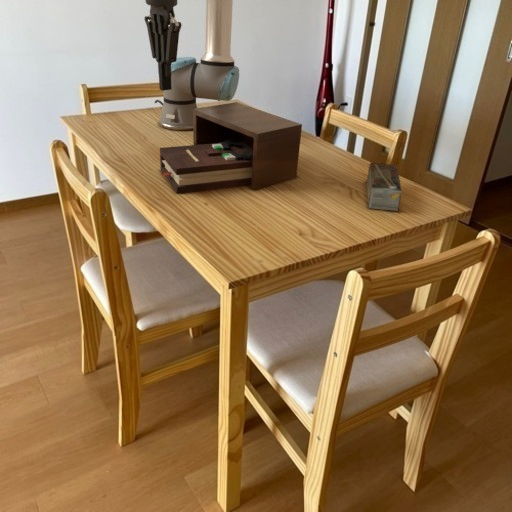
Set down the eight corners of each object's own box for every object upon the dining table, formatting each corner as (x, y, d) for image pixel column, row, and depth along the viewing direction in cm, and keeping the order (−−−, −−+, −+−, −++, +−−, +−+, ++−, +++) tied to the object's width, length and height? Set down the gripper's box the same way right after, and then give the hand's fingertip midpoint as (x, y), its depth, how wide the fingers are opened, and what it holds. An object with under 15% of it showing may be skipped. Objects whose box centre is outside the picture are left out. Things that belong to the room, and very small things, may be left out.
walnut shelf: (193, 160, 148) (193, 108, 140) (234, 150, 158) (236, 102, 150) (254, 190, 131) (258, 133, 123) (296, 177, 141) (302, 124, 133)
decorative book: (150, 144, 135) (248, 136, 146) (151, 169, 139) (247, 160, 150) (168, 168, 120) (276, 157, 132) (169, 196, 124) (274, 183, 135)
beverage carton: (366, 208, 125) (371, 184, 121) (365, 181, 141) (369, 159, 138) (397, 212, 124) (403, 188, 120) (393, 184, 140) (398, 163, 137)
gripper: (132, -16, 116) (139, 85, 128) (162, -11, 108) (167, 96, 120) (159, -16, 120) (163, 82, 133) (190, -11, 112) (191, 93, 125)
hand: (165, 89), depth 126 cm, fingers closed
